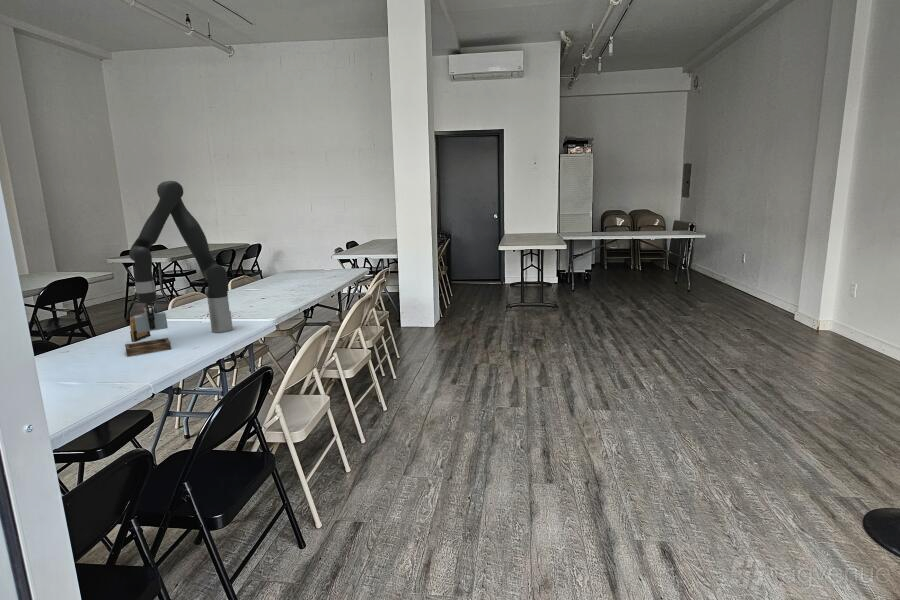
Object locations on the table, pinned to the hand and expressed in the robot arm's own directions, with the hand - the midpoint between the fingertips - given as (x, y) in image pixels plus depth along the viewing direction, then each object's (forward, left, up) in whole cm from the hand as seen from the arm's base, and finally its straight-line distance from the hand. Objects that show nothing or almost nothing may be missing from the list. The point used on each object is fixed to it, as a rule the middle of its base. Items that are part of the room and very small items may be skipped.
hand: (152, 327), depth 231 cm
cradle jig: (+3, +11, -8) cm, 13 cm away
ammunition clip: (+4, -15, -8) cm, 17 cm away
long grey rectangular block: (0, 0, -1) cm, 1 cm away
